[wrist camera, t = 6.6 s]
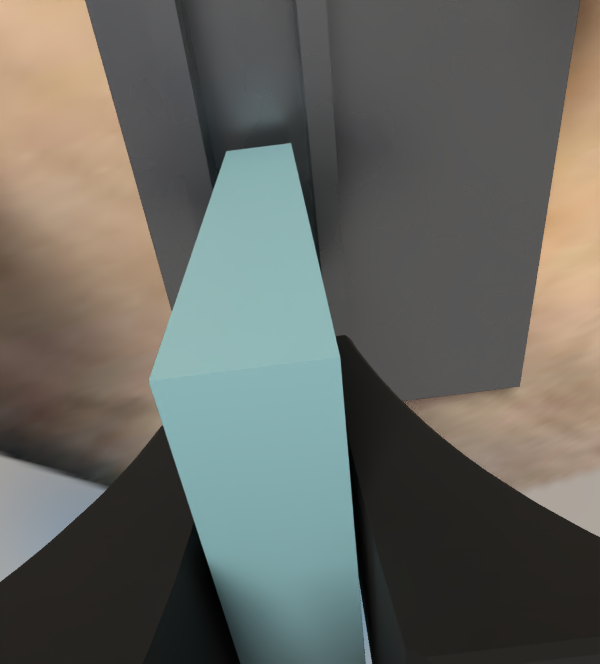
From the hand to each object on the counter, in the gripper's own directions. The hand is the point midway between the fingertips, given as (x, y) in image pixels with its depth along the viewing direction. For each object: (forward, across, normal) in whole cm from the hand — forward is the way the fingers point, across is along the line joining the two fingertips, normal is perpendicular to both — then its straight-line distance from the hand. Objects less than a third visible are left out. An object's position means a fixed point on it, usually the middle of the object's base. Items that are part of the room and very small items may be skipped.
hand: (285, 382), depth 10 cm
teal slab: (+4, 0, 0) cm, 4 cm away
